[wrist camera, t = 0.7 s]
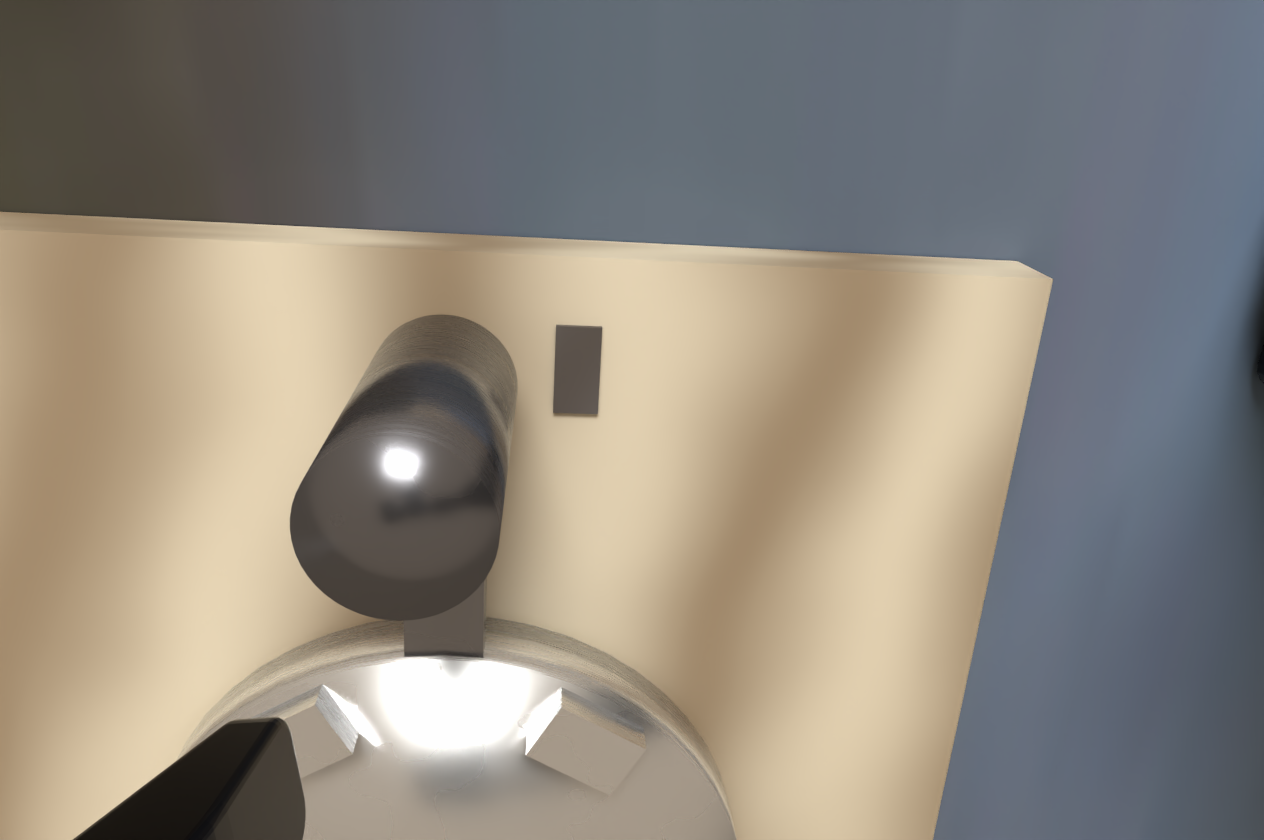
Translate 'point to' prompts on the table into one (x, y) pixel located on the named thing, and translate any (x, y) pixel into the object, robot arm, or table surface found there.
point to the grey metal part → (455, 640)
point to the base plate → (513, 487)
